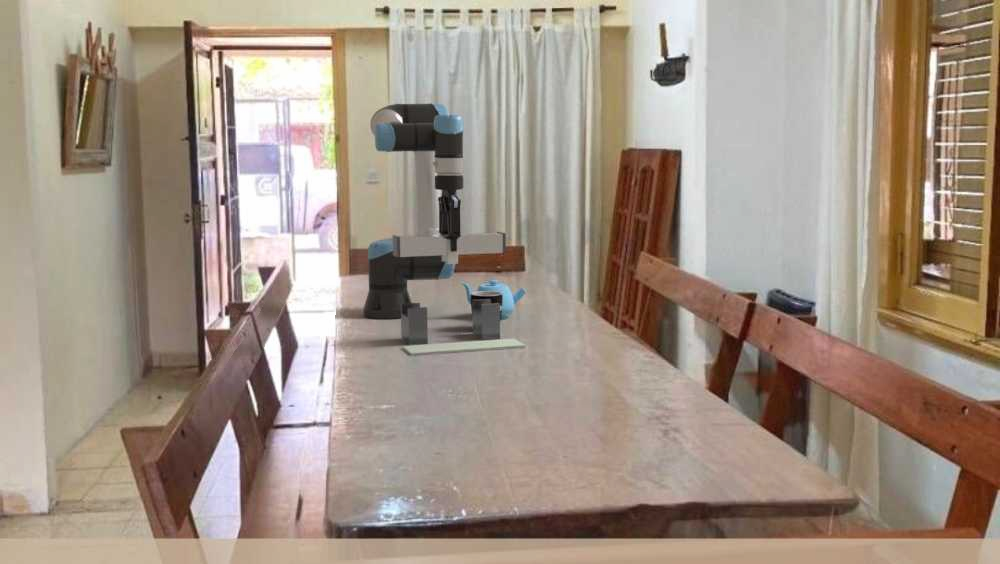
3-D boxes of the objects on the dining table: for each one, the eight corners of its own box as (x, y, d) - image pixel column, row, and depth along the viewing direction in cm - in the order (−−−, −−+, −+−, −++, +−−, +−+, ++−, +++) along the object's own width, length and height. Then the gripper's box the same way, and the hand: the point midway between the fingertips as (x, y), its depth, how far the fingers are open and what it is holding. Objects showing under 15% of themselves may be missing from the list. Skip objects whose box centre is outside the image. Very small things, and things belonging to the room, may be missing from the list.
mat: (403, 348, 257) (403, 346, 257) (513, 340, 266) (513, 338, 266) (411, 355, 249) (411, 353, 249) (525, 347, 258) (525, 345, 258)
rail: (397, 257, 260) (396, 237, 259) (392, 255, 264) (392, 235, 264) (505, 252, 269) (505, 233, 268) (499, 250, 274) (499, 231, 273)
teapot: (493, 323, 292) (493, 285, 290) (460, 318, 301) (459, 280, 300) (528, 316, 303) (528, 279, 302) (494, 311, 312) (494, 275, 311)
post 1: (401, 338, 270) (400, 303, 269) (419, 337, 272) (418, 302, 270) (409, 344, 262) (408, 309, 260) (427, 343, 263) (427, 307, 262)
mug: (502, 331, 280) (502, 295, 278) (470, 331, 279) (470, 295, 278) (502, 323, 291) (502, 289, 290) (471, 324, 291) (471, 289, 290)
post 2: (472, 333, 276) (472, 299, 275) (489, 332, 278) (489, 298, 277) (482, 339, 268) (482, 304, 267) (500, 338, 269) (499, 303, 268)
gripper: (426, 173, 271) (427, 259, 274) (444, 175, 254) (445, 267, 257) (453, 173, 273) (454, 258, 277) (472, 175, 256) (473, 265, 260)
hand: (449, 262), depth 267 cm, fingers closed on rail, 5 cm apart
